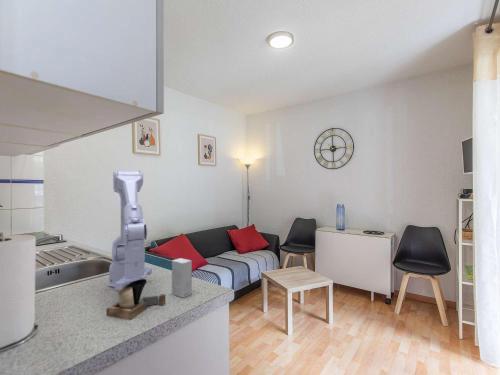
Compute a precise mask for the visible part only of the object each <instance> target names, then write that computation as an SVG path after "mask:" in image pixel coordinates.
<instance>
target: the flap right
mask: <svg viewBox="0 0 500 375" xmlns="http://www.w3.org/2000/svg"><path fill="white" fill-rule="evenodd" d="M159 295H160V294H158V295H152V296H144V297H142V303H143V302H146V307H147V306H151V305H159Z"/></svg>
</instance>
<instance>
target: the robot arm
mask: <svg viewBox="0 0 500 375" xmlns="http://www.w3.org/2000/svg"><path fill="white" fill-rule="evenodd" d="M143 173H144V172H143V171H142V170H117V169H114V171H113V175H112V177H113V178H112V183H113V184H112V185H113V188H112V189H113V192H114V193H116V194H119V197H120V235H119V236H118V237H117V238H116V239H115V240H113V242H112V248H111V258H112V262H111V263H110V265H109V269H108V284H106V286H107V287H110V288H111V287H113V288H114V290H117V291H118V290H121V289H123V287H125V286H131V287H132V289H133V298H134V306H138V305H140V304H139V303H140V300H141V296H142V293H143V290H144V288H145V285H146V284H147V279H148V275H152V274H153V268H151V267H146V268H145V262H146V261H145V260H146V259H145V258H146V257H145V254H146V253H145V252H146V248H145V247H146V244H145V243H146V242H145V241H146V240H147V237H148V228H147V223H146V220H145V219H144V215H143V214H144V213H143V207H142V205H140V204H139V203H138V193H139V192H140V191H141V189H142V188H143V185H144V174H143Z"/></svg>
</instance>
